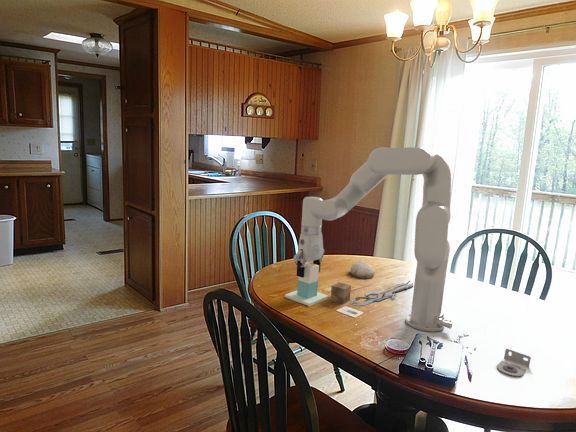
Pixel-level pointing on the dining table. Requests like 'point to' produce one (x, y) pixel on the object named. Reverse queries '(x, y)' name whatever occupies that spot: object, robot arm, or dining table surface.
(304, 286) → the teal brick
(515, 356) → the bracket
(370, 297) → the gun
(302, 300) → the baseplate
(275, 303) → the dining table surface
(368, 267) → the stone
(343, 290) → the walnut brick
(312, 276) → the cream brick
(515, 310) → the dining table surface
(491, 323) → the dining table surface
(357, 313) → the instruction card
